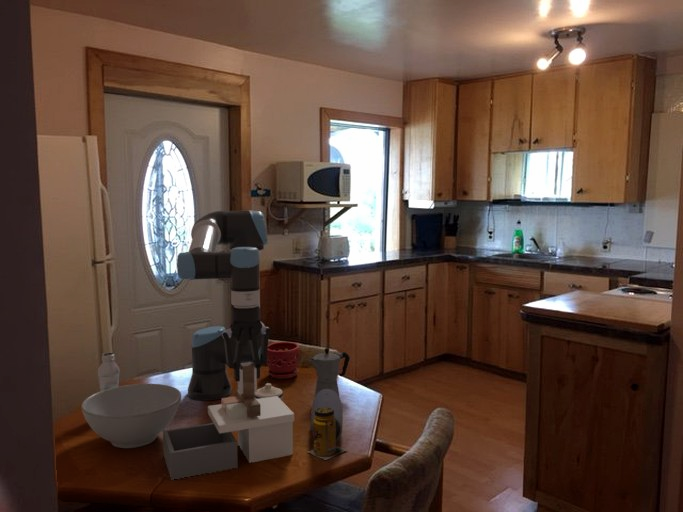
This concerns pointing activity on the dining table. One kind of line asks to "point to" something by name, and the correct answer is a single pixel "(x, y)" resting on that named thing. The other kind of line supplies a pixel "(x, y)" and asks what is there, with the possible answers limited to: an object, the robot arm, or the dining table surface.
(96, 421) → the decorative bowl
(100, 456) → the dining table surface
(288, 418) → the board
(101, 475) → the dining table surface
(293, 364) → the plant pot
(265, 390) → the teacup with lid
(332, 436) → the condiment
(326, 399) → the bluetooth speaker
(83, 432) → the dining table surface
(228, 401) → the terracotta tile
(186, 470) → the box
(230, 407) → the sage tile
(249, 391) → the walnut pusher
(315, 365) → the coffeepot
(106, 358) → the plastic bottle
